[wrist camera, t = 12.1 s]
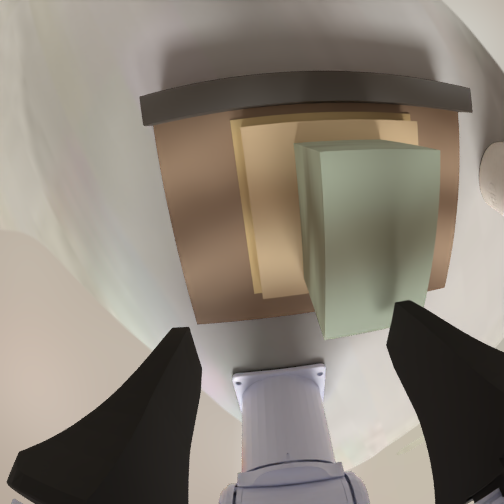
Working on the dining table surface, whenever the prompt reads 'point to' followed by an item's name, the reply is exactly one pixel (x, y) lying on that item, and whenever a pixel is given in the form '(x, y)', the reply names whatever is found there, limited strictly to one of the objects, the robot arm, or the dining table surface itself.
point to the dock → (235, 177)
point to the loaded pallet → (343, 216)
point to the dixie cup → (493, 176)
